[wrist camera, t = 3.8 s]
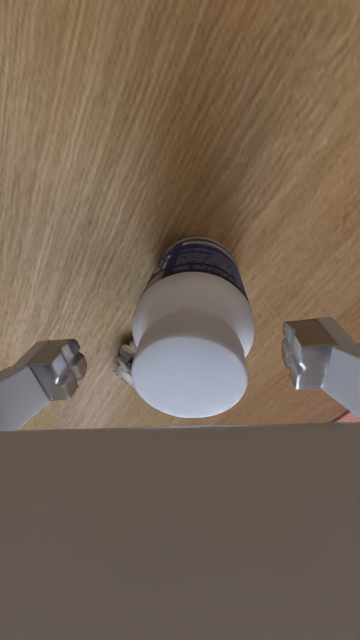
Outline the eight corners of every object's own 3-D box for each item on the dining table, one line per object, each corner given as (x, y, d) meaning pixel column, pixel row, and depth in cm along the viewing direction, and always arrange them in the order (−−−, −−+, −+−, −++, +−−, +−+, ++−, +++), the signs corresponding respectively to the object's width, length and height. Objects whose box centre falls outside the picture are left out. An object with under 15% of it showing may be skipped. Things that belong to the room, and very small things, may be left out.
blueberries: (127, 321, 19) (120, 335, 17) (220, 354, 20) (221, 370, 18) (110, 378, 22) (103, 394, 21) (190, 403, 23) (189, 421, 22)
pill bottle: (162, 227, 15) (109, 295, 7) (247, 243, 15) (301, 331, 7) (153, 302, 18) (108, 417, 9) (224, 316, 18) (242, 441, 9)
